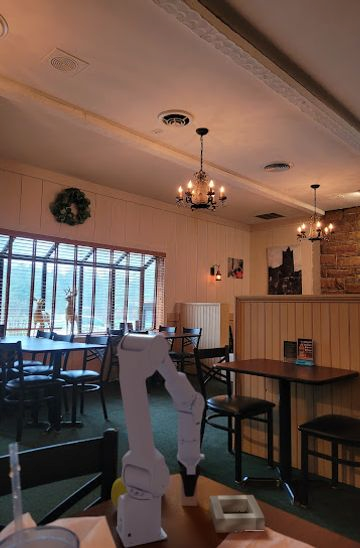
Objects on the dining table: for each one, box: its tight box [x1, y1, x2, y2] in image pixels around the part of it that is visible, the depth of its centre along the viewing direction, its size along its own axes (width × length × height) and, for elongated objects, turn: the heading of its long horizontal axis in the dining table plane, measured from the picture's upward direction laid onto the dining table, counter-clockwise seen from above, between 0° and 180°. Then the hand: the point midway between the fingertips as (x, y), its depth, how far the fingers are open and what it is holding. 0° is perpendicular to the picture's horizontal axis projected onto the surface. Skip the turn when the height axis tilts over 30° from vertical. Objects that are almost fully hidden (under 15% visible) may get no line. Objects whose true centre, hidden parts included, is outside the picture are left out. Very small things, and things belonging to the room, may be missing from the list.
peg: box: [179, 467, 198, 507], centre depth 106 cm, size 4×4×8 cm
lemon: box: [110, 476, 128, 509], centre depth 102 cm, size 6×6×8 cm
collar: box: [209, 494, 266, 534], centre depth 98 cm, size 11×11×3 cm
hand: (188, 492), depth 106 cm, fingers closed on peg, 4 cm apart
